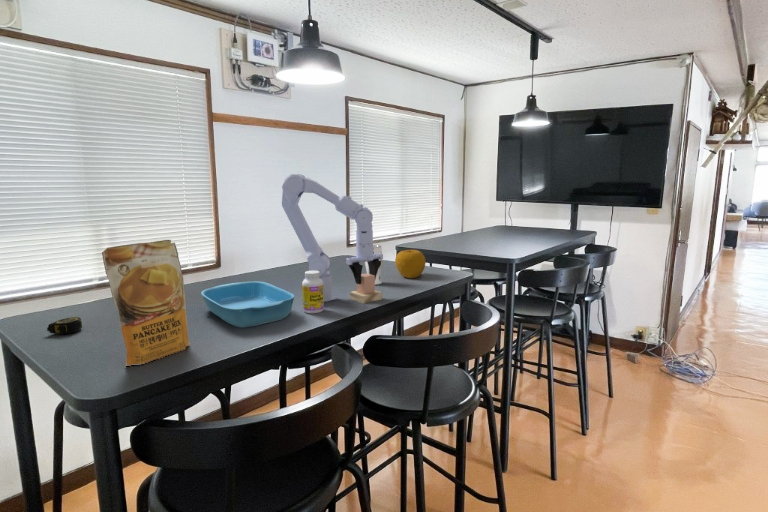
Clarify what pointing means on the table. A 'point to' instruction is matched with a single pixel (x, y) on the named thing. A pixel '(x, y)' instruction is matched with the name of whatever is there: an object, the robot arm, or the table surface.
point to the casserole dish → (248, 303)
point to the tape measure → (65, 325)
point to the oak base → (365, 296)
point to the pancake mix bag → (148, 299)
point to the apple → (410, 263)
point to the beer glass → (377, 250)
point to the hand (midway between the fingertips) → (365, 282)
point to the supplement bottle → (313, 292)
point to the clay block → (366, 284)
